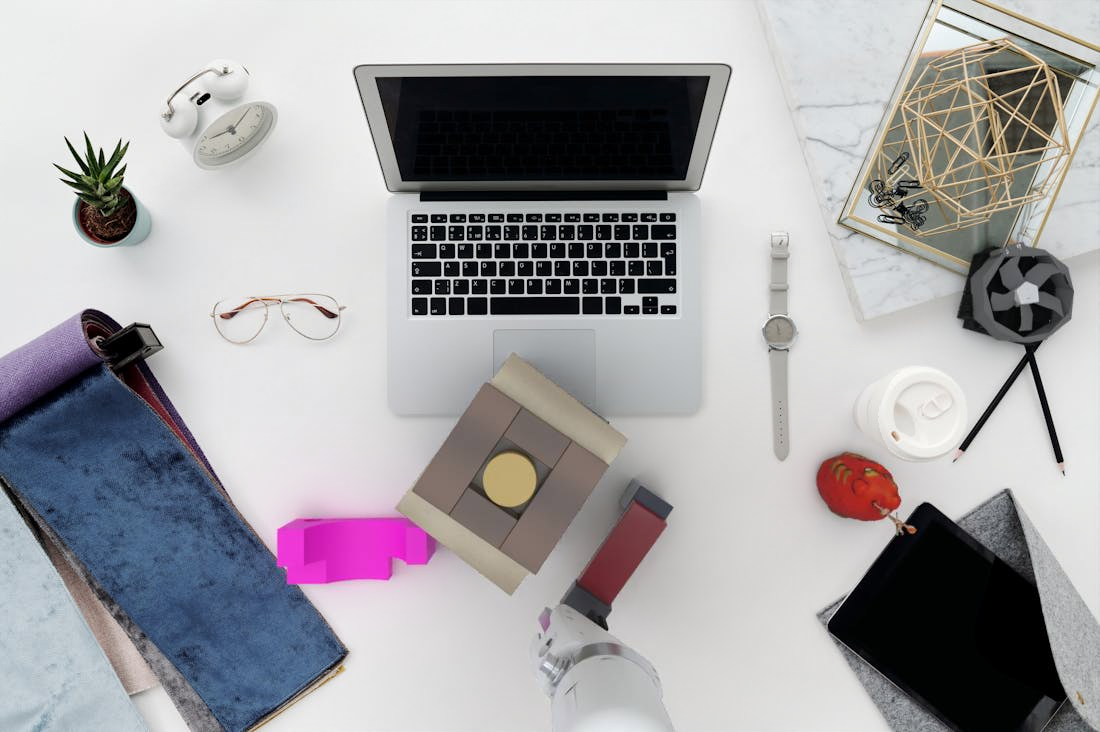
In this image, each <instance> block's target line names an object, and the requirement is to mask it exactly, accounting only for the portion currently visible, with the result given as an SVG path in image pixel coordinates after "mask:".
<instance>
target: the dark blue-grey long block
mask: <svg viewBox="0 0 1100 732" xmlns="http://www.w3.org/2000/svg"><path fill="white" fill-rule="evenodd" d="M622 493H623V494H622V495H621V496H620V497H619V499H618V502H619V503H620V505H621V507H622V508H623V509H624V511H625V510H626V508H627V507H628V505H629V504H630V503H631V501H632V500H633V499H635V500H637V501H638V502H639V503H641V504H642V505H644V506H645V507H647V508H648V509H650V510H651V511H653V512H654V513H656V514H657V515H659V516H660V517H662V518H663V519H665V520H666V521H667V519H668V517H669V515H670V514H671V512H672V511H673V510H674V506H673V505H672V504H671V503H669V502H668V501H667V500H666V499H665V498H664V497H663V496H661V494H658V493H657V492H655V491H654V490H653V489H651V488H650V487H648V486H646V485H645V484H643V483H642V482H640V481H639V480H637V479H636V478H635V477H634V478H632V480H630V483H628V486H627V488H626V489H625V490H624V492H622Z"/></svg>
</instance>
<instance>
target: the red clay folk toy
mask: <svg viewBox="0 0 1100 732" xmlns="http://www.w3.org/2000/svg"><path fill="white" fill-rule="evenodd" d="M885 467H886V466H884V465H883V464H880V463H879V462H877V461H875V460H872V459H869V458H867V457H866V456H863V455H862V454H858V453H854V452H850V451H845V452H843V453H841V454H840V455H838V456H833V457H831V458H828V459H826V460H825V461H823V462H822V464H821V465H820V468H819V470H818V472H817V474H816V479H815V480H816V488H817V491H818V493H819V495H820V497H821V499H822V500H823V502H824V503H825V504H826V505H827V508H828V509H829V511H830V512H831V513H833V514H835V515H836V516H838V517H840V518H842V519H852V520H858V521H861V522H876V521H877V522H878V521H882V520H884V519H885V518H886V517H888V518H889V519H890V520H891V522H893V524H894V525H895V536H896V537H898V536H899V533H900V535H901V536H903V535H905V532H904V531H903V530H902V527H905V529H906V530H907V532H908V533H909V534H912V535H913V534H915V533H916V532H917V529H916V528H915V526H913V525H910V524H906V523H905V522H903V521H902V520H900V519H899V517H898V516H899V515H898V514H899V513H898V512H895V517H894V516H892V515H891V514H892V513H893V512H894V511H896V510H897V509H898V508H900V506H901V504H902V498H901V496H900V495H899V487H898V484H897V483H896V482H895V481H894V477H893V475H892V473H891V472H890V471H889V470H888V469H887V468H885Z"/></svg>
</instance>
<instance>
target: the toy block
mask: <svg viewBox="0 0 1100 732" xmlns="http://www.w3.org/2000/svg"><path fill="white" fill-rule="evenodd" d="M435 554H436V539H435V538H433V537H432V536H431V535H429V534H428V533H427V532H425V531H424V530H423V529H421V528H420V527H419V526H417V525H416V524H415V523H414V522H412V521H411V520H410V519H408V518H407V517H406V516H404V517H402V516H401V517H341V518H340V517H337V518H336V517H334V518H333V517H332V518H331V517H329V518H325V517H324V518H296V519H294V520H291V521H290V522H288V523H287V524H284V525H282V526H281V527H279V528H277V529H276V567H277V568H286V585H328V584H332V583H338V582H339V583H340V582H346V581H347V582H348V581H360V580H361V581H362V580H376V581H377V580H378V581H389V580H390V579H391V578H392V577H393V558H394V559H398V560H400V561H403V562H405V564H406V566H427V565H428V564H429V562H430V561H431V559H432V558H433V556H434V555H435Z"/></svg>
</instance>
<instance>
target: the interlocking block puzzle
mask: <svg viewBox="0 0 1100 732" xmlns="http://www.w3.org/2000/svg"><path fill="white" fill-rule="evenodd" d="M628 441H629V438H627V437H626V436H625V435H623V434H622V433H620V432H619V431H618V430H617V429H615V428H614V427H613V426H612V425H610V421H609V420H607V419H605V418H604V417H603V416H601V415H599V414H598V413H596V411H593V410H592V409H590V407H587V405H585V404H583V403H582V402H580V401H579V400H577V399H576V398H575V397H573V396H572V395H570V394H569V393H568V392H566V390H564V389H562V388H561V387H560V386H558V384H556V383H555V382H554V381H552V380H550V379H549V378H548V377H547V376H545V375H544V374H543V373H541V372H540V371H538V370H537V368H535V367H533V366H532V365H531V364H529V363H528V362H527V361H525V360H524V359H523V358H521V357H520V356H519V355H517V354H516V353H515V352H512V353H511V354H510V356H509V357H508V358H507V359H506V361H504V362H503V363H502V364H501V367H500V368H499V369H498V372H497V373H496V374H495V375H494V376H493V377H492V379H491V380H490V382H489V381H485V382H484V383H483V384H482V386H481V387H480V389H479V390H478V392H477V393H476V395H475V396H474V398H473V399H472V400H471V402H470V404H469V405H468V407H467V408H466V409H465V411H464V412H463V414H462V415H461V417H460V418H459V419H458V421H457V423H456V424H455V426H453V428H452V430H451V431H450V433H449V434H448V436H447V437H446V439H445V440H444V441H443V443H442V445H441V446H440V448H439V449H438V450H437V452H436V453H435V454H434V456H433V457H432V458H431V459H430V461H429V462H428V464H427V465H426V466H425V468H424V469H423V470H422V472H421V473H420V474H419V476H417V477H416V480H415V481H414V482H413V483H412V485H411V486H410V487H409V489H408V490H407V491H406V492H405V494H404V495H403V496H402V498H401V499H400V501H399V502H398V503H397V505H396V506H395V507H394V509H395V510H396V511H397V512H399V513H400V514H401V515H402V516H404V517H407V518H408V519H410V520H411V521H412V522H414V523H415V524H416V525H417V526H419V527H420V528H421V529H423V530H424V531H425V532H427V533H428V534H429V535H431V536H432V537H433V538H435V541H436V542H438V543H439V544H441V545H442V546H444V547H445V548H446V549H448V550H449V551H451V552H452V553H453V554H454V555H455V556H457V557H458V558H460V559H461V560H462V561H464V562H465V563H466V564H467V565H468V566H469V567H472V569H474V570H475V571H477V572H478V573H479V574H480V575H482V577H485V578H486V579H487V580H489V581H490V583H493V584H494V585H495V586H496V587H498V588H499V589H501V590H502V591H503V592H504V593H506V594H507V595H508V596H510V597H512V595H513V594H514V593H515V591H516V590H517V589H518V588H519V586H520V585H521V584H522V582H523V581H524V580H525V578H526V577H527V576H528V575H529V573H531V574H533V575H535V576H536V575H537V574H538V573H539V571H540V570H541V568H542V566H543V565H544V564H545V562H546V560H547V559H548V558H549V557H550V555H551V553H552V552H553V550H554V549H555V548H556V546H557V544H558V543H559V541H560V540H561V538H562V537H563V535H564V533H566V531H567V530H568V528H569V526H570V525H571V523H572V522H573V520H574V519H575V518H576V516H577V515H578V513H579V511H580V510H581V509H582V507H583V505H584V504H585V502H586V501H587V499H588V498H589V497H590V495H591V493H592V492H593V490H594V489H595V488H596V486H597V485H598V483H599V482H600V480H601V479H602V477H603V476H604V475H605V473H606V472H607V470H608V469H609V466H610V465H611V464H612V462H613V460H614V459H616V457H617V455H618V454H619V453H620V452H621V450H622V449H623V447H624V446H625V445H626V444H627V443H628ZM506 450H516V451H520V452H522V453H524V454H526V455H527V456H528V457H529V458H530V459H531V460H532V461H533V463H534V465H535V467H536V472H537V482H536V487H535V490H534V493H533V494H532V496H531V497H530V498H529V499H528V500H527V501H526V502H525V503H523V504H521V505H518V506H515V507H505V506H501V505H498V504H497V503H495V502H493V501H492V500H491V499H490V498H489V497H488V495H487V494H486V492H485V489H484V486H483V474H484V471H485V469H486V467H487V465H488V464H489V462H490V461H491V459H492V458H493V457H494V456H496V455H497V454H499V453H500V452H503V451H506Z"/></svg>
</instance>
